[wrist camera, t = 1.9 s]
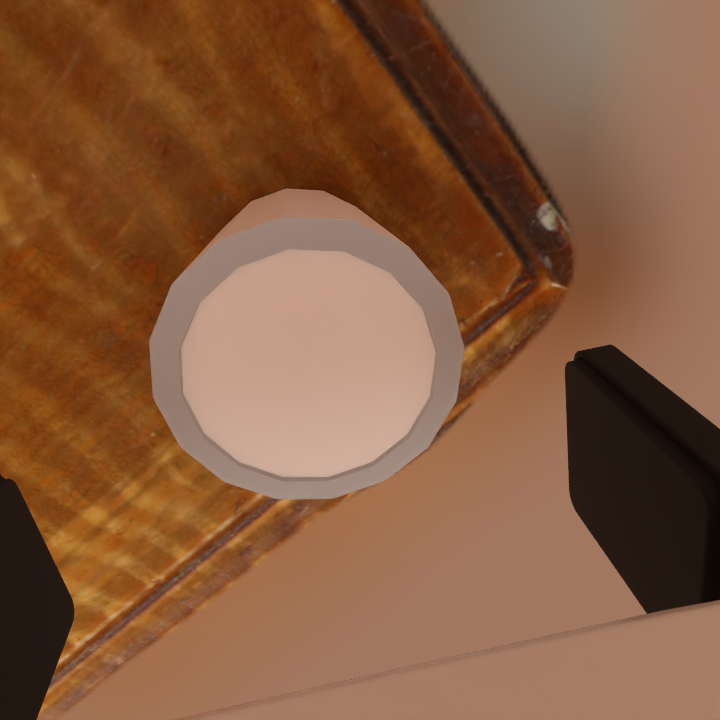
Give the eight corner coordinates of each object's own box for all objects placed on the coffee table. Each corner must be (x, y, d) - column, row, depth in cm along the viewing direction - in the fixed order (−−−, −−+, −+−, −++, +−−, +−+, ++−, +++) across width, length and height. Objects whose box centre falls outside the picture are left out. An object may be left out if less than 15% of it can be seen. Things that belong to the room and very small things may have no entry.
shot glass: (444, 311, 21) (514, 415, 15) (269, 410, 22) (264, 549, 16) (340, 120, 18) (372, 147, 12) (143, 242, 19) (75, 329, 13)
